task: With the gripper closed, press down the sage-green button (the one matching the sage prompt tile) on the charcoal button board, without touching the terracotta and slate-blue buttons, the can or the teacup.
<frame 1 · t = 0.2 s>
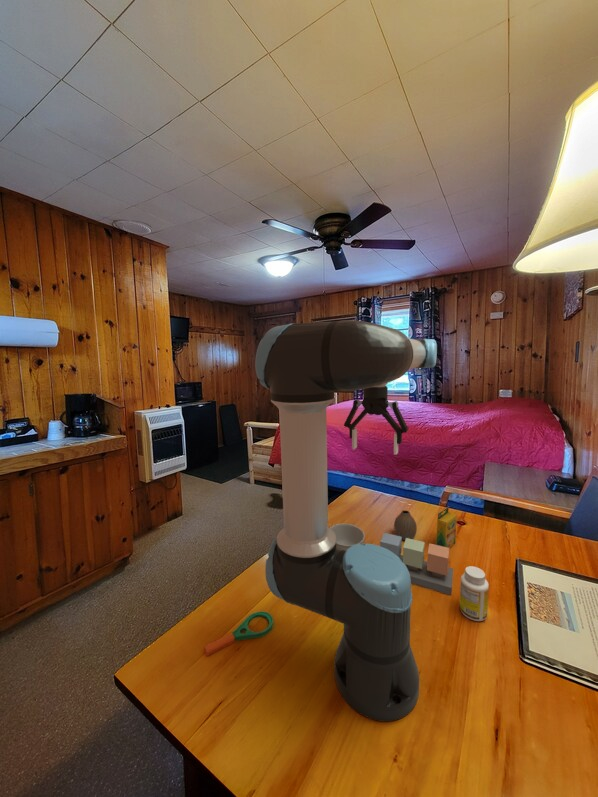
hand: (374, 450, 104), 28 cm above the table, fingers open, 13 cm apart
button board: (413, 573, 87), on the table
button terracotta: (438, 559, 83), point 6 cm above the table, slide at 0.0 cm
button sage: (413, 552, 86), point 6 cm above the table, slide at 0.0 cm
button slate: (390, 547, 89), point 6 cm above the table, slide at 0.0 cm
supplement bottle: (472, 613, 74), on the table
teacup: (340, 558, 94), on the table
crayon box: (445, 547, 98), on the table
prompt tile: (374, 588, 82), on the table
magnifying glass: (240, 637, 69), on the table
vase: (404, 537, 104), on the table
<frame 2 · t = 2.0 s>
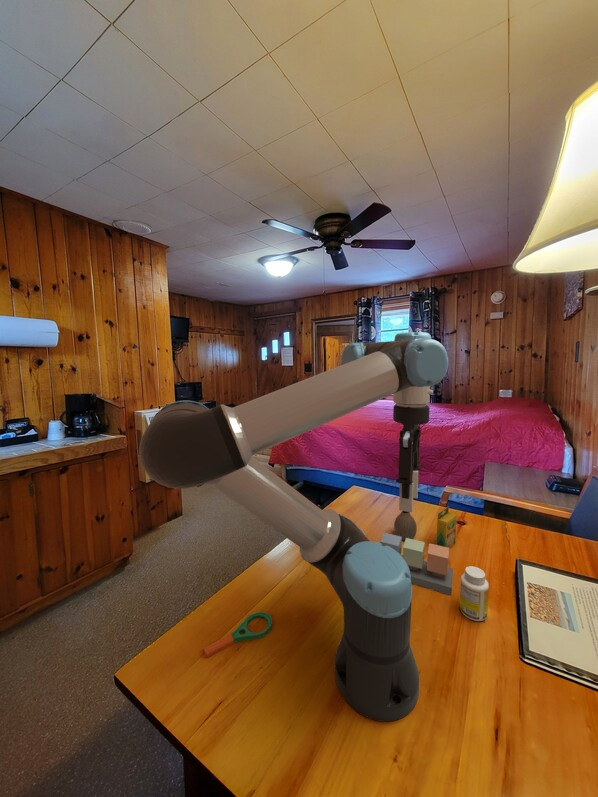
hand: (408, 503, 74), 25 cm above the table, fingers open, 7 cm apart
nothing on the table moved.
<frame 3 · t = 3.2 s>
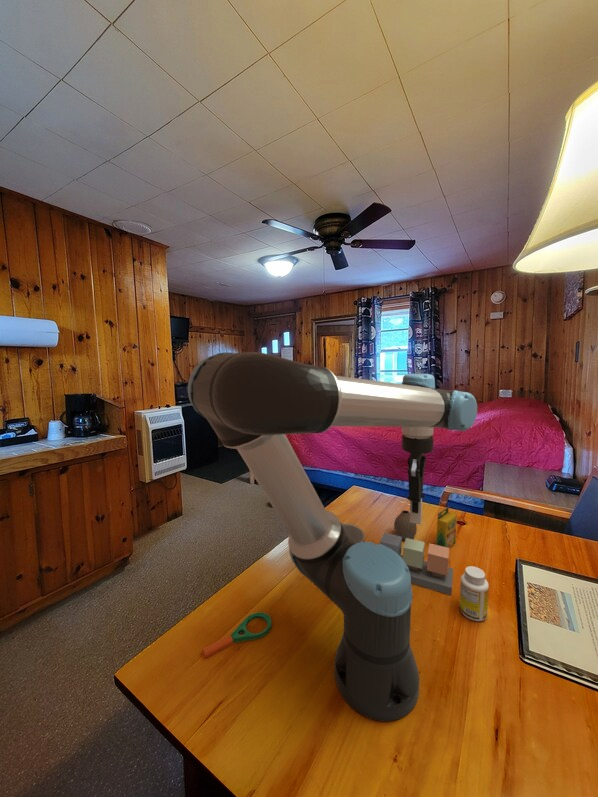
hand: (415, 522, 85), 15 cm above the table, fingers closed
nothing on the table moved.
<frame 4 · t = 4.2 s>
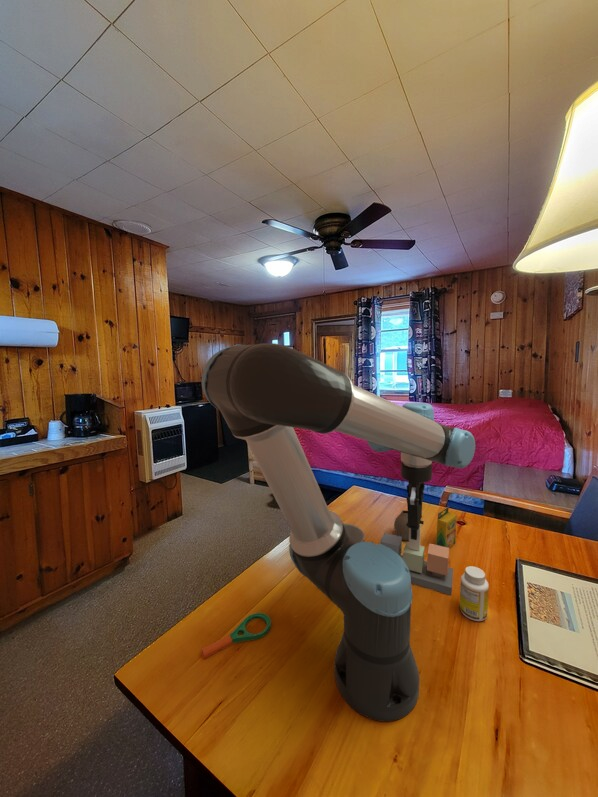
hand: (414, 547, 86), 7 cm above the table, fingers closed
button sage: (413, 557, 86), point 5 cm above the table, slide at 1.3 cm, touching gripper
everything else where it was.
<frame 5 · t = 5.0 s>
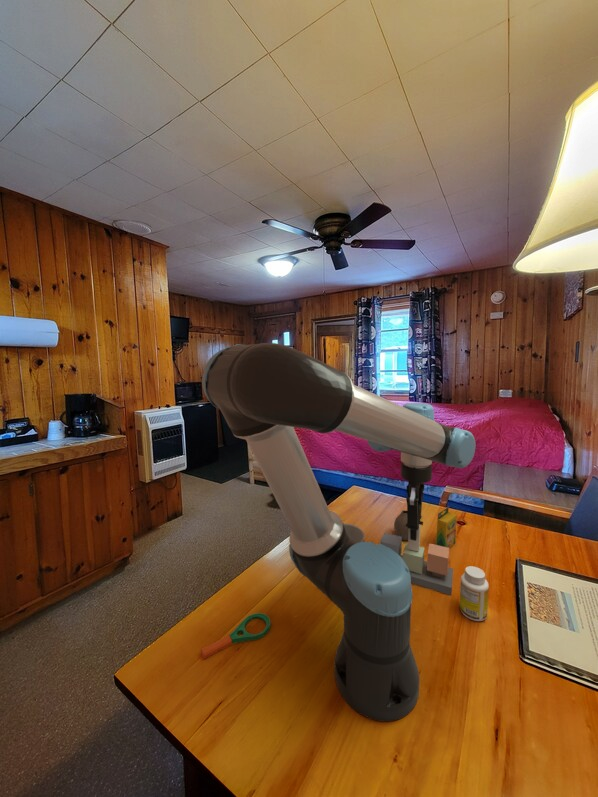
hand: (413, 548, 86), 7 cm above the table, fingers closed
button sage: (413, 558, 86), point 5 cm above the table, slide at 1.5 cm
everything else where it was.
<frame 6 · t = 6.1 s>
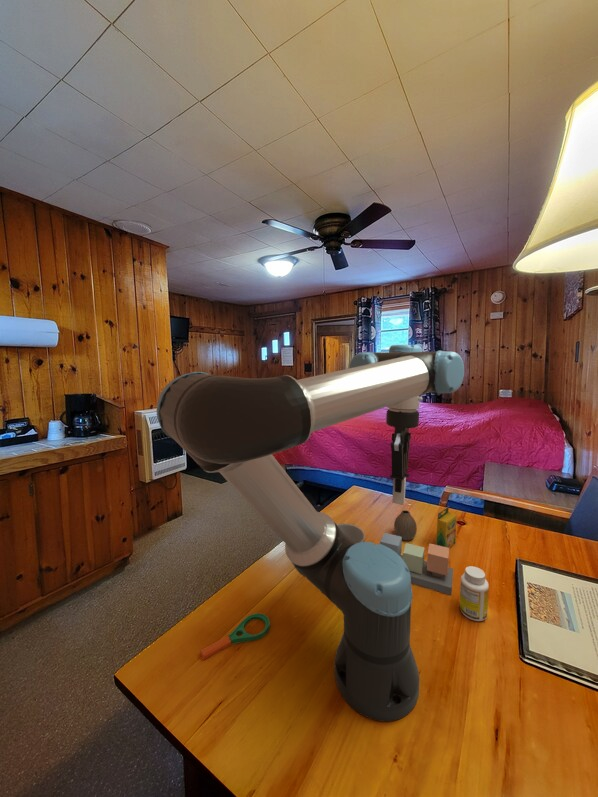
hand: (398, 502, 80), 22 cm above the table, fingers closed
nothing on the table moved.
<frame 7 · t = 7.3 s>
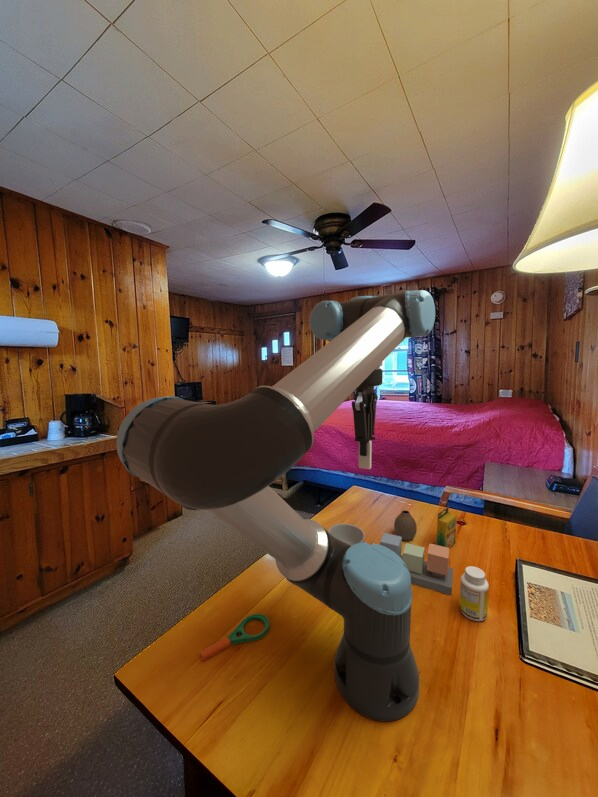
hand: (364, 467, 76), 32 cm above the table, fingers closed
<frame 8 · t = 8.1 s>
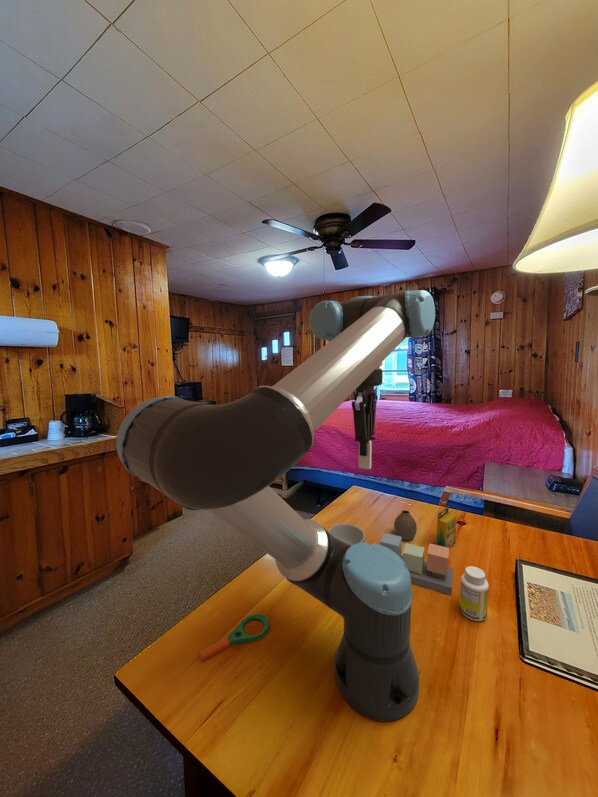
hand: (364, 467, 76), 32 cm above the table, fingers closed
at the end: button sage slide at 1.5 cm; button terracotta slide at 0.0 cm; button slate slide at 0.0 cm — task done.
